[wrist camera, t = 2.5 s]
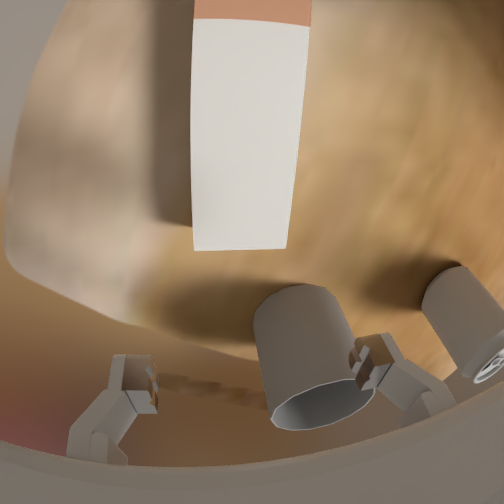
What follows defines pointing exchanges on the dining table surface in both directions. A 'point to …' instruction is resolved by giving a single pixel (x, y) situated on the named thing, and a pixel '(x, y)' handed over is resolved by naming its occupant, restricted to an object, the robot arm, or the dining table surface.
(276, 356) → the cup
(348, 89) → the dining table surface
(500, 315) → the can
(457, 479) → the robot arm
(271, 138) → the white and orange box
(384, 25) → the dining table surface
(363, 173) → the dining table surface
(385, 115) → the dining table surface
